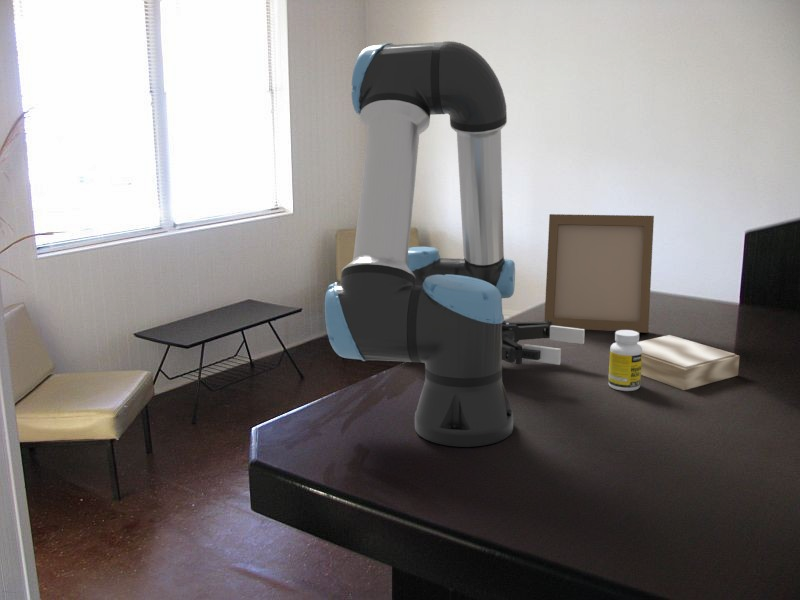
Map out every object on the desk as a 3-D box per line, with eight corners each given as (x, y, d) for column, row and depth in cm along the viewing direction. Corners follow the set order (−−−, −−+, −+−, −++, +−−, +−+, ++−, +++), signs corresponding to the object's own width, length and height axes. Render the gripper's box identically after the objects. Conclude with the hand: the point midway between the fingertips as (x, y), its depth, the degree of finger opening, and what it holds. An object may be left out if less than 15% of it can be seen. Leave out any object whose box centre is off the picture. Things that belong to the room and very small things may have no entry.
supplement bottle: (633, 394, 136) (636, 338, 133) (603, 388, 139) (605, 334, 137) (645, 385, 140) (647, 331, 138) (615, 379, 143) (617, 326, 141)
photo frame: (648, 337, 168) (654, 219, 162) (544, 331, 174) (546, 217, 169) (648, 320, 182) (653, 210, 176) (551, 315, 188) (554, 209, 182)
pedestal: (684, 390, 137) (685, 368, 136) (616, 365, 150) (617, 345, 149) (737, 375, 144) (739, 354, 143) (668, 353, 157) (669, 333, 156)
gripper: (490, 334, 165) (592, 347, 154) (435, 369, 144) (548, 387, 133) (491, 299, 163) (593, 310, 152) (434, 329, 142) (549, 344, 131)
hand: (572, 346), depth 143 cm, fingers open, 13 cm apart
